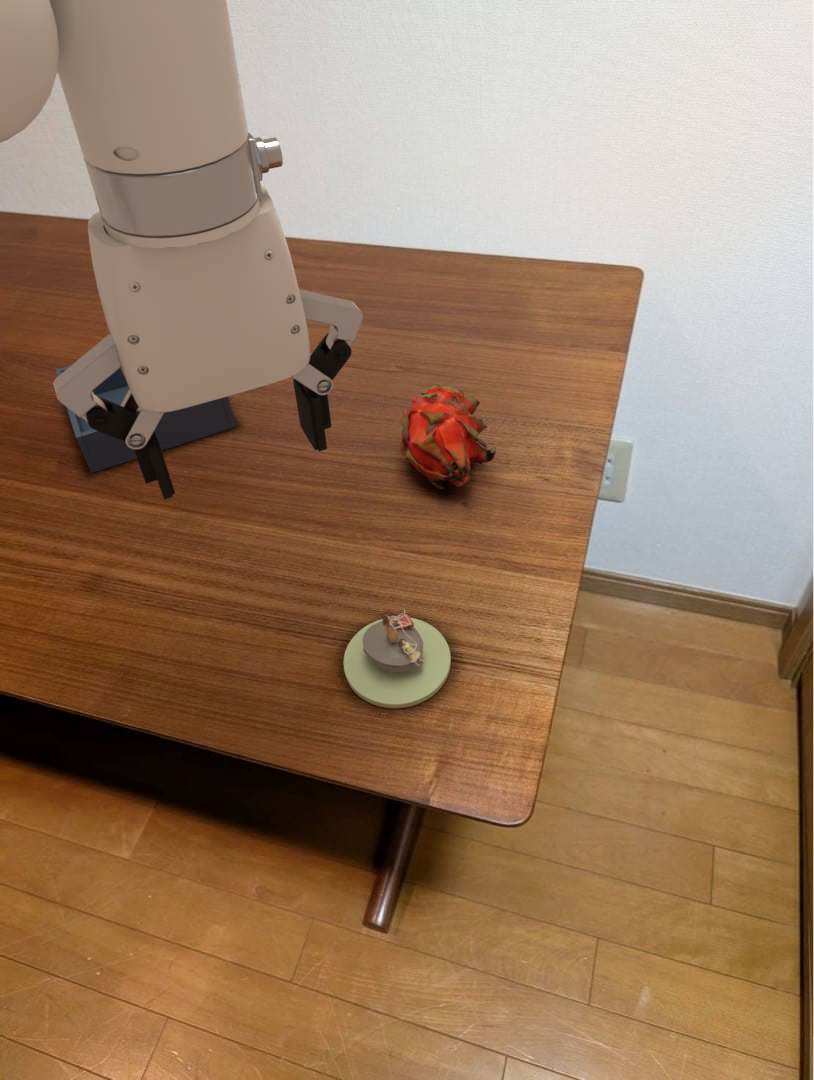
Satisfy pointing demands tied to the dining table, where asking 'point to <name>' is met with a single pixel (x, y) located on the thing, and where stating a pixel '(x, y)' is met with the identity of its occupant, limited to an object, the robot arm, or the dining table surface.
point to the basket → (169, 430)
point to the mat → (398, 685)
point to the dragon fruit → (444, 435)
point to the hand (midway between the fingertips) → (241, 461)
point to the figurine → (394, 644)
